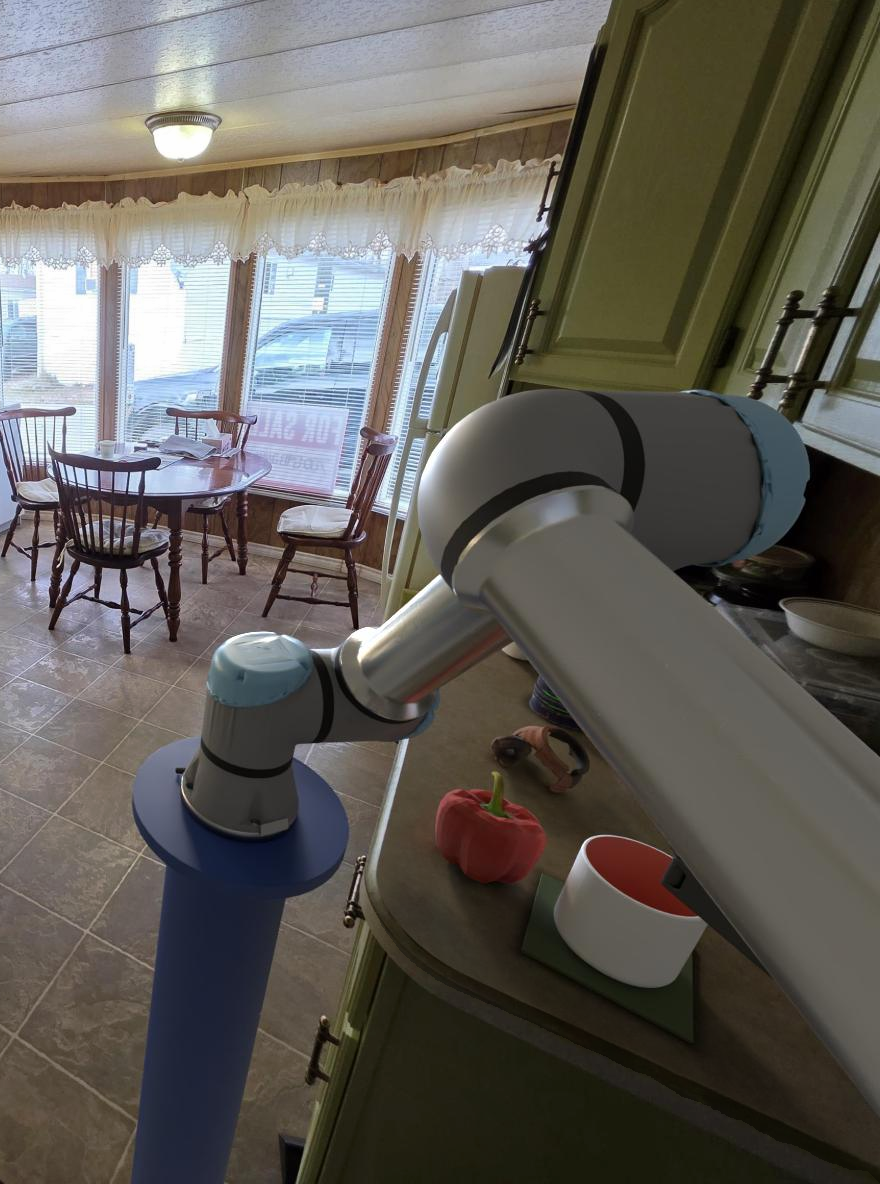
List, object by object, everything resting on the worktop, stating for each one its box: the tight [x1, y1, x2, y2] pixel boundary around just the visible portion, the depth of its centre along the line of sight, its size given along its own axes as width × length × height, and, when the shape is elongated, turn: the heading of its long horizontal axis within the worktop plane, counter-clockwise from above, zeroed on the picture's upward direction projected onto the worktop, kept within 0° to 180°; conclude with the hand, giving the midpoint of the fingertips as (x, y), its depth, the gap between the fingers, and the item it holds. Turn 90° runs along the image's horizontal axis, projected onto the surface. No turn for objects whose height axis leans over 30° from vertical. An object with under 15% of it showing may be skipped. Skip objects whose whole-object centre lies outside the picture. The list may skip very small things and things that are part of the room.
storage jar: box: [528, 674, 582, 731], centre depth 101 cm, size 10×10×15 cm
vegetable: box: [435, 771, 548, 884], centre depth 73 cm, size 11×10×10 cm
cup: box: [554, 834, 709, 988], centre depth 62 cm, size 10×10×10 cm
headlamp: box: [490, 724, 591, 794], centre depth 89 cm, size 12×10×8 cm
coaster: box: [520, 872, 694, 1045], centre depth 65 cm, size 13×13×1 cm
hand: (782, 827), depth 46 cm, fingers open, 13 cm apart
